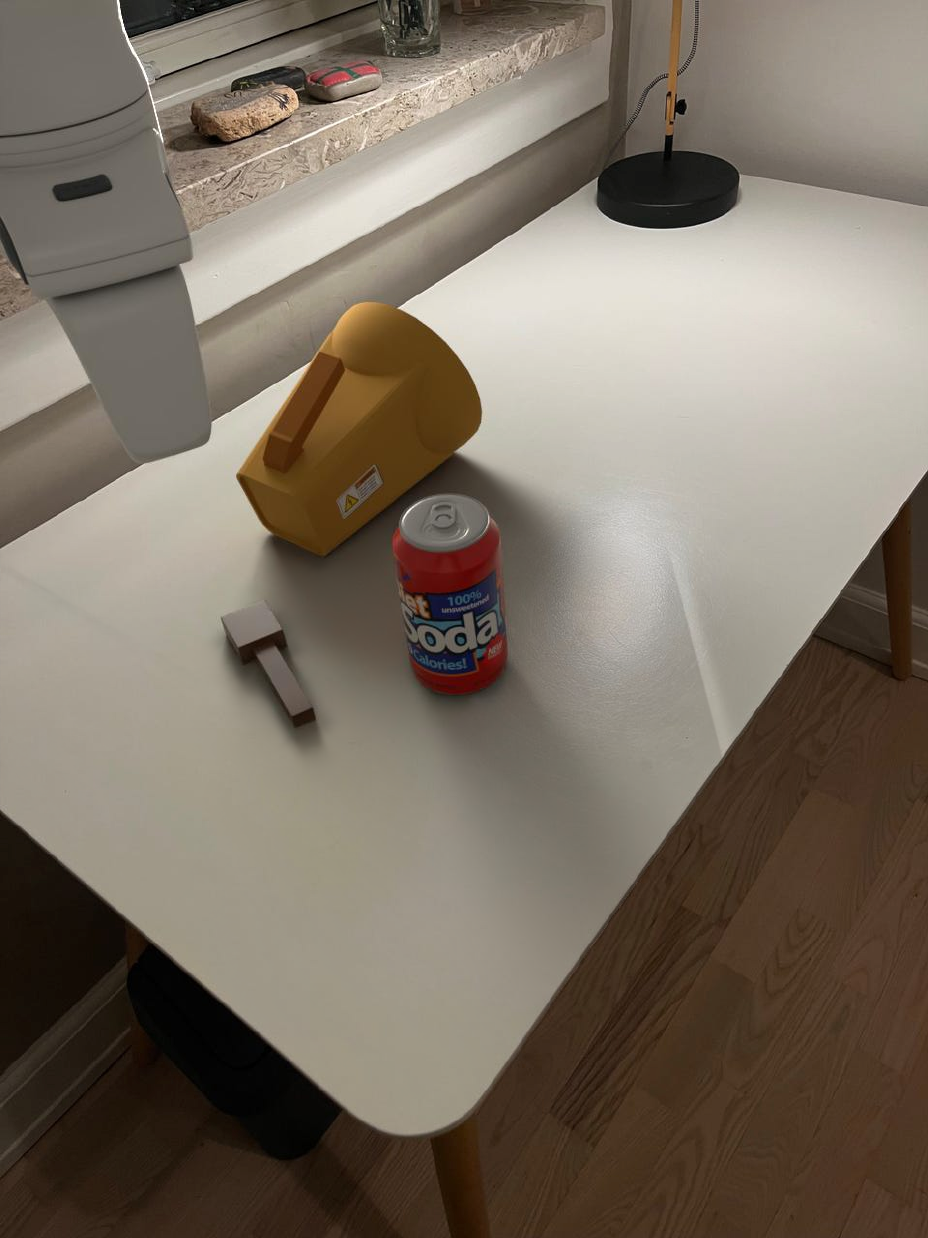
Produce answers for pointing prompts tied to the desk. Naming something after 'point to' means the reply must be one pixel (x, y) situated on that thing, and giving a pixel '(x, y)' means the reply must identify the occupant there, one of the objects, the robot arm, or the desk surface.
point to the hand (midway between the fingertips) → (151, 443)
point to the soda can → (451, 593)
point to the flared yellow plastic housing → (359, 428)
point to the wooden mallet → (268, 656)
